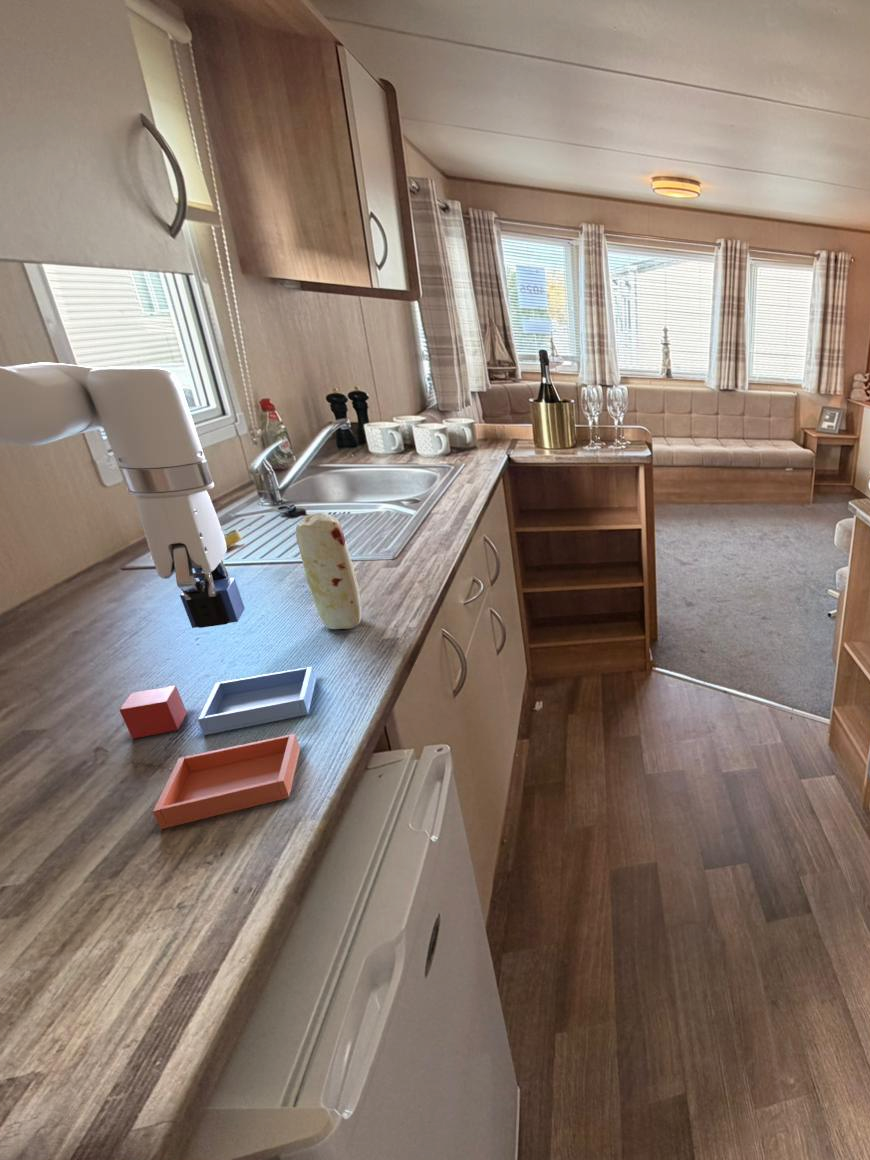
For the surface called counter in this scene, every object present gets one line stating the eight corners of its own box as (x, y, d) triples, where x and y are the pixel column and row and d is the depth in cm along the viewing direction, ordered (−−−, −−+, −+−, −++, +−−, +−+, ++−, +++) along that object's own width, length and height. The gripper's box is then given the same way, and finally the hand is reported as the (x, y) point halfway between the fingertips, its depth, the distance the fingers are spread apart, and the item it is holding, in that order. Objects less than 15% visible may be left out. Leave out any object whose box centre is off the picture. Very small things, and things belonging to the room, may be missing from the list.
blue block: (192, 628, 80) (179, 595, 78) (201, 614, 83) (189, 582, 81) (237, 621, 82) (226, 589, 80) (245, 608, 85) (234, 577, 84)
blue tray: (203, 735, 84) (197, 719, 83) (221, 697, 92) (215, 682, 91) (308, 714, 89) (303, 699, 88) (316, 680, 97) (311, 666, 96)
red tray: (160, 829, 69) (152, 811, 68) (185, 774, 77) (178, 757, 76) (289, 797, 74) (283, 780, 73) (300, 749, 82) (295, 733, 81)
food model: (376, 625, 114) (349, 518, 106) (332, 637, 109) (301, 526, 101) (355, 609, 120) (329, 506, 112) (313, 620, 115) (283, 513, 107)
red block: (132, 739, 82) (118, 709, 80) (143, 721, 86) (130, 692, 84) (178, 730, 84) (166, 701, 83) (187, 712, 88) (175, 685, 86)
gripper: (149, 465, 80) (197, 597, 87) (97, 497, 67) (160, 650, 74) (225, 461, 84) (266, 589, 91) (191, 492, 70) (242, 638, 77)
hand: (218, 615), depth 82 cm, fingers closed on blue block, 4 cm apart
